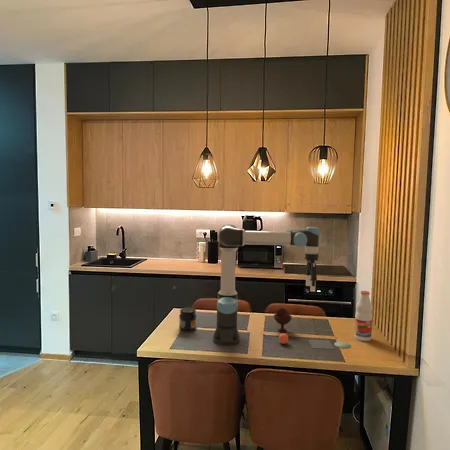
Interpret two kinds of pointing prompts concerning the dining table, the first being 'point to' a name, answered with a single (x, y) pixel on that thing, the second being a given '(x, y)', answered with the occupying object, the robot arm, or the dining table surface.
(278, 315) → the ice cream bowl
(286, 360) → the dining table surface
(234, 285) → the robot arm
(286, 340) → the ball
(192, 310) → the supplement container
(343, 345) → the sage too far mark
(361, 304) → the fruit juice
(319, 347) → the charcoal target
